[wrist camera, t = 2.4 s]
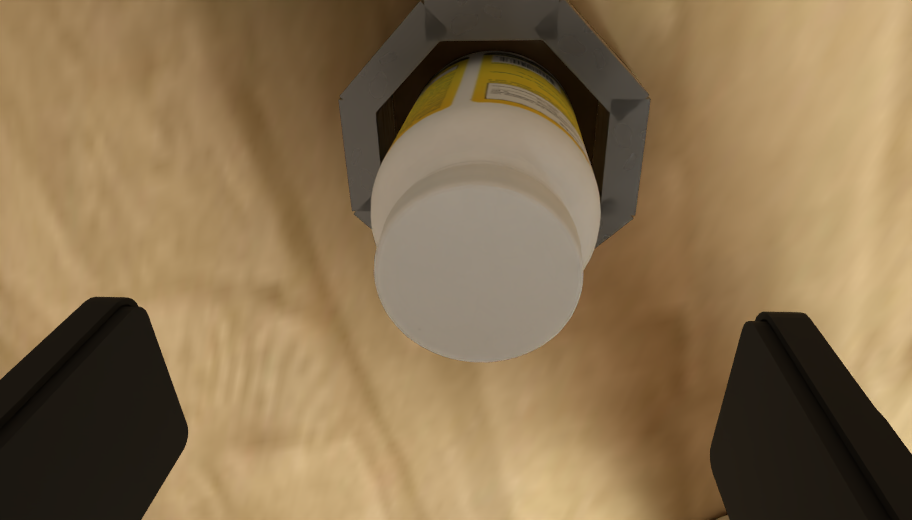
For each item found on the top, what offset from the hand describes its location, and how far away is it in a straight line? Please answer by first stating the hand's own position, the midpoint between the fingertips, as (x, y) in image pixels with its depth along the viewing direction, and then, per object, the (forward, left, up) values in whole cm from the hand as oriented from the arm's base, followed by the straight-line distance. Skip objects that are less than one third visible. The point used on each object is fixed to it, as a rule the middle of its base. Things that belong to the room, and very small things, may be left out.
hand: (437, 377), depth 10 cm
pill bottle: (0, +1, -15) cm, 15 cm away
